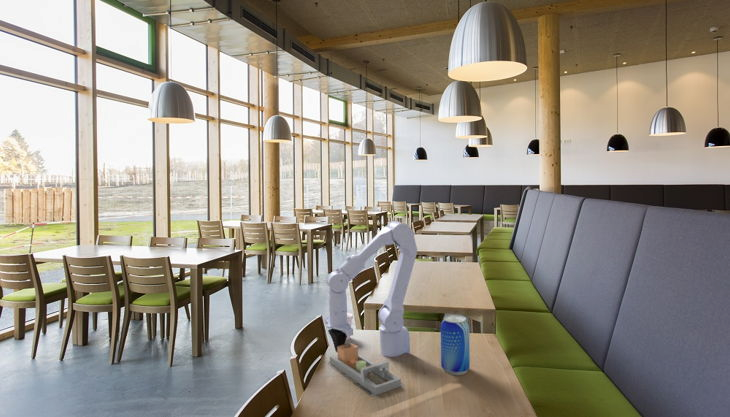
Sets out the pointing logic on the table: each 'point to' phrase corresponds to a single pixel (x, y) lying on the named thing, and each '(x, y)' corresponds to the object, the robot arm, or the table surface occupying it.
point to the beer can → (455, 345)
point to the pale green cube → (360, 366)
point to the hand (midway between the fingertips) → (339, 351)
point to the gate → (366, 370)
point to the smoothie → (349, 320)
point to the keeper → (348, 354)
